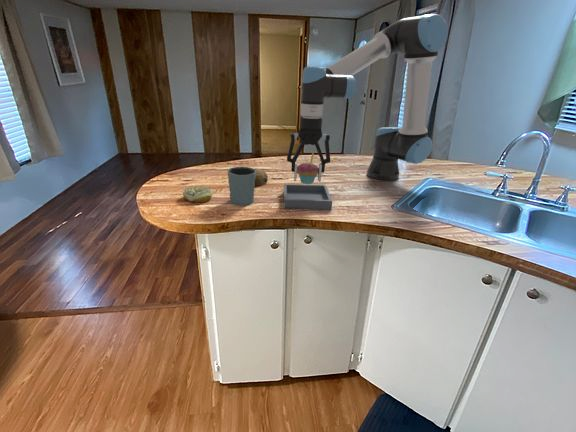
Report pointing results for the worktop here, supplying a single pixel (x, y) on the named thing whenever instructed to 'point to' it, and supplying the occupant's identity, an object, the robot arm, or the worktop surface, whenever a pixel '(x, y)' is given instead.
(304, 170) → the cupcake
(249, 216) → the worktop surface
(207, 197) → the decorated donut
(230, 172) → the grey cup
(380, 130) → the robot arm
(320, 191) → the serving tray
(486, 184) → the worktop surface
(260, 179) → the bread roll
